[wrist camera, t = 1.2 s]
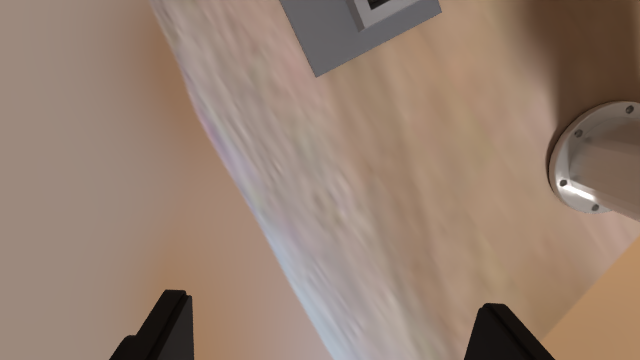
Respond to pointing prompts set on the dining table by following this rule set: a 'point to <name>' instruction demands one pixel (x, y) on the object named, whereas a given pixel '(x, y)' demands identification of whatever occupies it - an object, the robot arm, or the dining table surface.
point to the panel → (351, 26)
